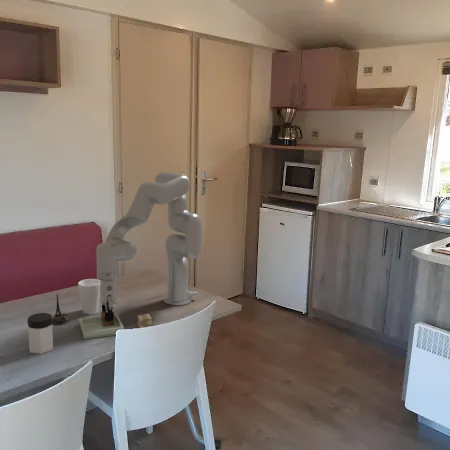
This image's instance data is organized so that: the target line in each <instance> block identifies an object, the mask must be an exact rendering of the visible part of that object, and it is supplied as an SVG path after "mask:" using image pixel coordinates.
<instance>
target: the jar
mask: <svg viewBox="0 0 450 450" xmlns="http://www.w3.org/2000/svg"><path fill="white" fill-rule="evenodd" d="M52 318H53V315H52V314H51V313H47V312H38V313H34V314H31V315H30V316H28V318H27V326H28V327H27V330H28V333H27V334H28V346H29V349H28V351H29V353H30V354H31V353H32V354H37V355H38V354H39V355H43V354H46V353H48V352H51V351H53V350H54V336H53V335H54V334H53V333H54V332H53V325H52Z"/></svg>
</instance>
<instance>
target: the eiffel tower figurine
mask: <svg viewBox="0 0 450 450" xmlns="http://www.w3.org/2000/svg"><path fill="white" fill-rule="evenodd" d="M68 315H69V314H67V313H66V312H64V313H62V311H61V309H60V302H59V295H58V293H56V309H55V314H54V316H52V326H61V325H66V321H67V318H65V317H67V316H68Z"/></svg>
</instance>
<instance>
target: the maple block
mask: <svg viewBox="0 0 450 450" xmlns="http://www.w3.org/2000/svg"><path fill="white" fill-rule="evenodd" d="M152 320H153V319H152V317H151V315H150V314H149V313H145V314H138V315H137V326H138V328H139V327H148V326H152V325H153V324H152Z"/></svg>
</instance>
